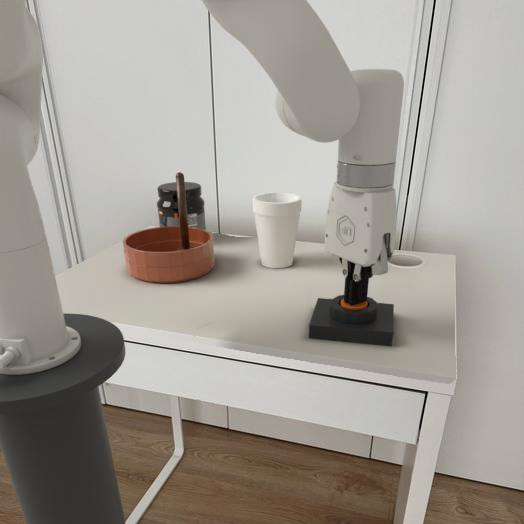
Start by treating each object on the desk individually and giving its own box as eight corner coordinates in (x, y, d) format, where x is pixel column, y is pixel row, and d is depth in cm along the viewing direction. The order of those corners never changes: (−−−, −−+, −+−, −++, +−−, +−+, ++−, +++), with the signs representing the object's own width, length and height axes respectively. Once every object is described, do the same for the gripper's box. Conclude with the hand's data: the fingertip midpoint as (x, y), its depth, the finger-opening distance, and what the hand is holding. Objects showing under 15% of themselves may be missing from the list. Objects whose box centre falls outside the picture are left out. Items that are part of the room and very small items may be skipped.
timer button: (365, 319, 76) (367, 308, 75) (338, 317, 77) (339, 306, 76) (367, 308, 80) (368, 297, 79) (341, 306, 80) (341, 295, 80)
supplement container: (175, 231, 125) (170, 179, 119) (214, 235, 122) (211, 182, 116) (151, 243, 116) (145, 189, 111) (193, 248, 113) (189, 192, 107)
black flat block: (391, 346, 74) (395, 321, 72) (308, 338, 77) (309, 313, 75) (392, 316, 83) (395, 293, 81) (317, 310, 85) (318, 287, 83)
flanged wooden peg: (186, 258, 103) (179, 174, 95) (173, 254, 105) (165, 172, 97) (199, 253, 106) (193, 171, 98) (186, 250, 108) (179, 169, 100)
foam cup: (281, 252, 111) (281, 190, 104) (309, 263, 104) (312, 198, 98) (244, 261, 106) (242, 196, 99) (272, 274, 99) (272, 206, 93)
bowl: (198, 287, 94) (196, 255, 91) (111, 280, 97) (106, 249, 94) (225, 256, 109) (223, 228, 106) (148, 251, 112) (145, 223, 109)
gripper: (308, 169, 72) (305, 291, 81) (384, 188, 61) (370, 327, 70) (349, 164, 76) (342, 281, 85) (428, 181, 65) (410, 313, 74)
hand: (355, 301), depth 78 cm, fingers closed
